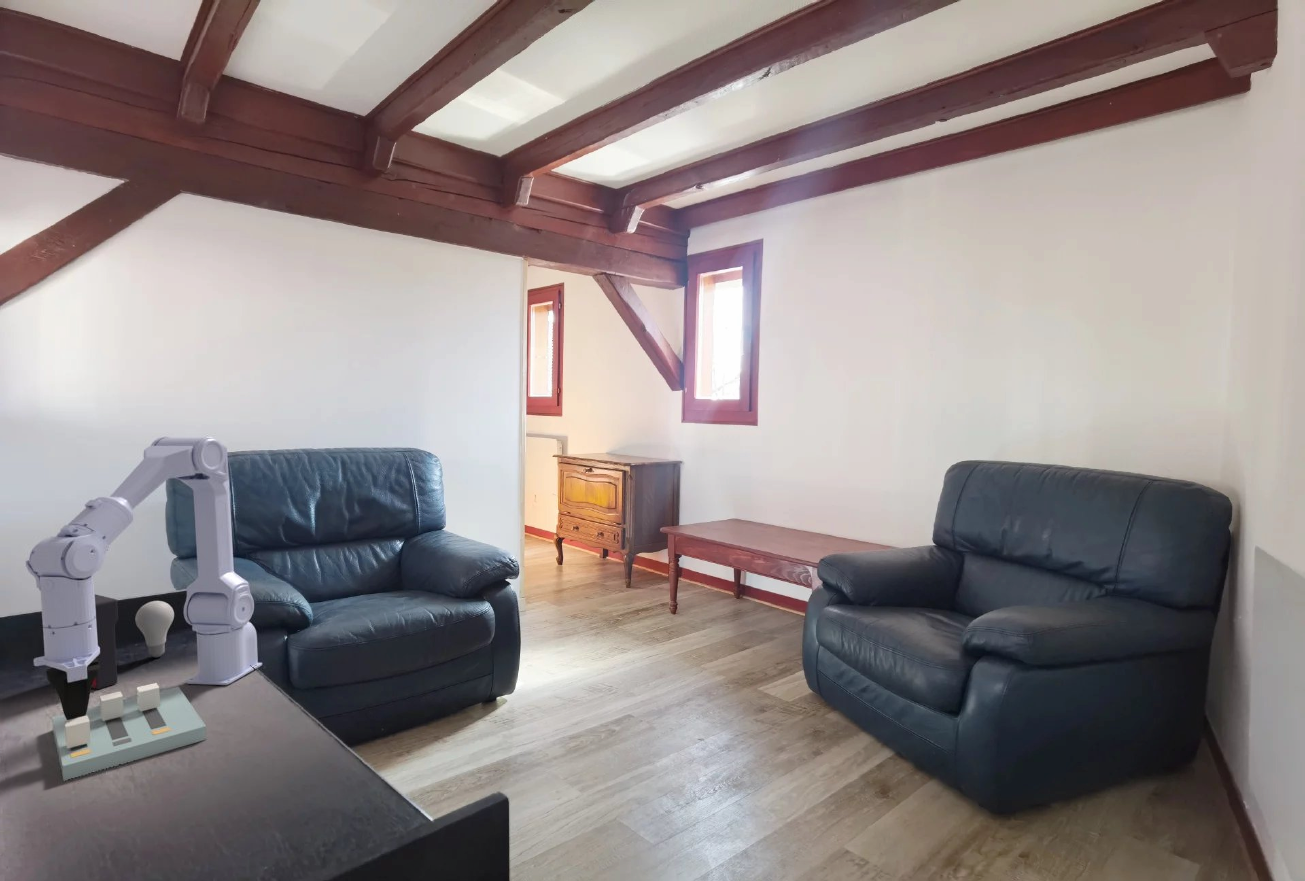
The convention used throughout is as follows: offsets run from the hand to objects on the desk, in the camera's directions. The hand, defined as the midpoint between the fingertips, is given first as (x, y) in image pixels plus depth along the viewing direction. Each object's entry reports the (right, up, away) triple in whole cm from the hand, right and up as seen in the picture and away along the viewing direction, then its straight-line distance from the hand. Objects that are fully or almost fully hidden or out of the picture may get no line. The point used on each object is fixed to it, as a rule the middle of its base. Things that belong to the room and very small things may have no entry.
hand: (75, 716), depth 98 cm
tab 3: (+3, -2, +9) cm, 10 cm away
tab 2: (0, -2, +6) cm, 7 cm away
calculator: (-19, -4, +26) cm, 32 cm away
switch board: (+3, -5, +5) cm, 8 cm away
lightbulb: (-15, -4, +38) cm, 41 cm away
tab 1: (+2, -3, -2) cm, 4 cm away
